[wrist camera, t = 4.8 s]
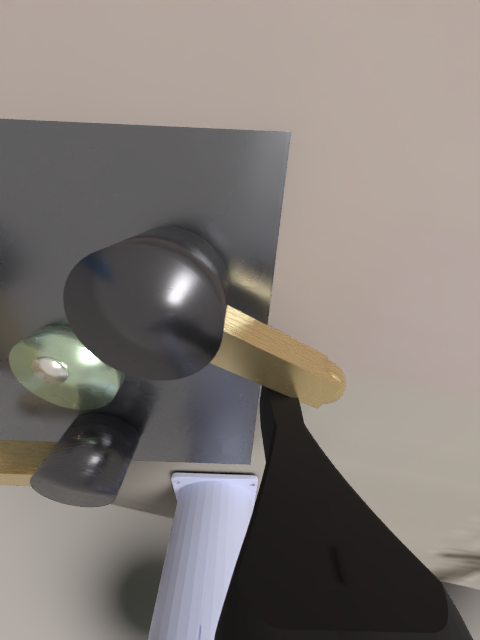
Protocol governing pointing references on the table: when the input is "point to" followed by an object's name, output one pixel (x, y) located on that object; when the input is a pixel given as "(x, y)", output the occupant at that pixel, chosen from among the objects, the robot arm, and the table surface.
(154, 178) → the dark grey square plate
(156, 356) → the knob
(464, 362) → the table surface
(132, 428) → the knob
